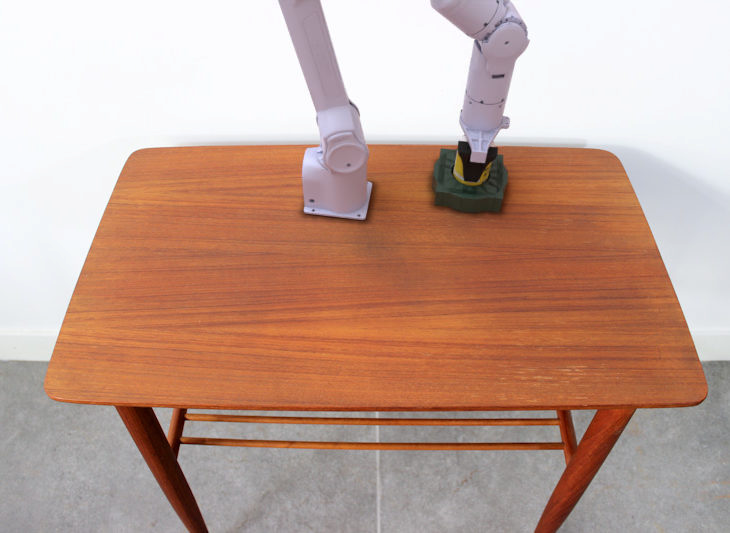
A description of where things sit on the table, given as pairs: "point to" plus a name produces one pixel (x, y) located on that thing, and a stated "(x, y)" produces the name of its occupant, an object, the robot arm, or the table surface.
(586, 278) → the table surface
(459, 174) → the supplement bottle
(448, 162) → the holder
